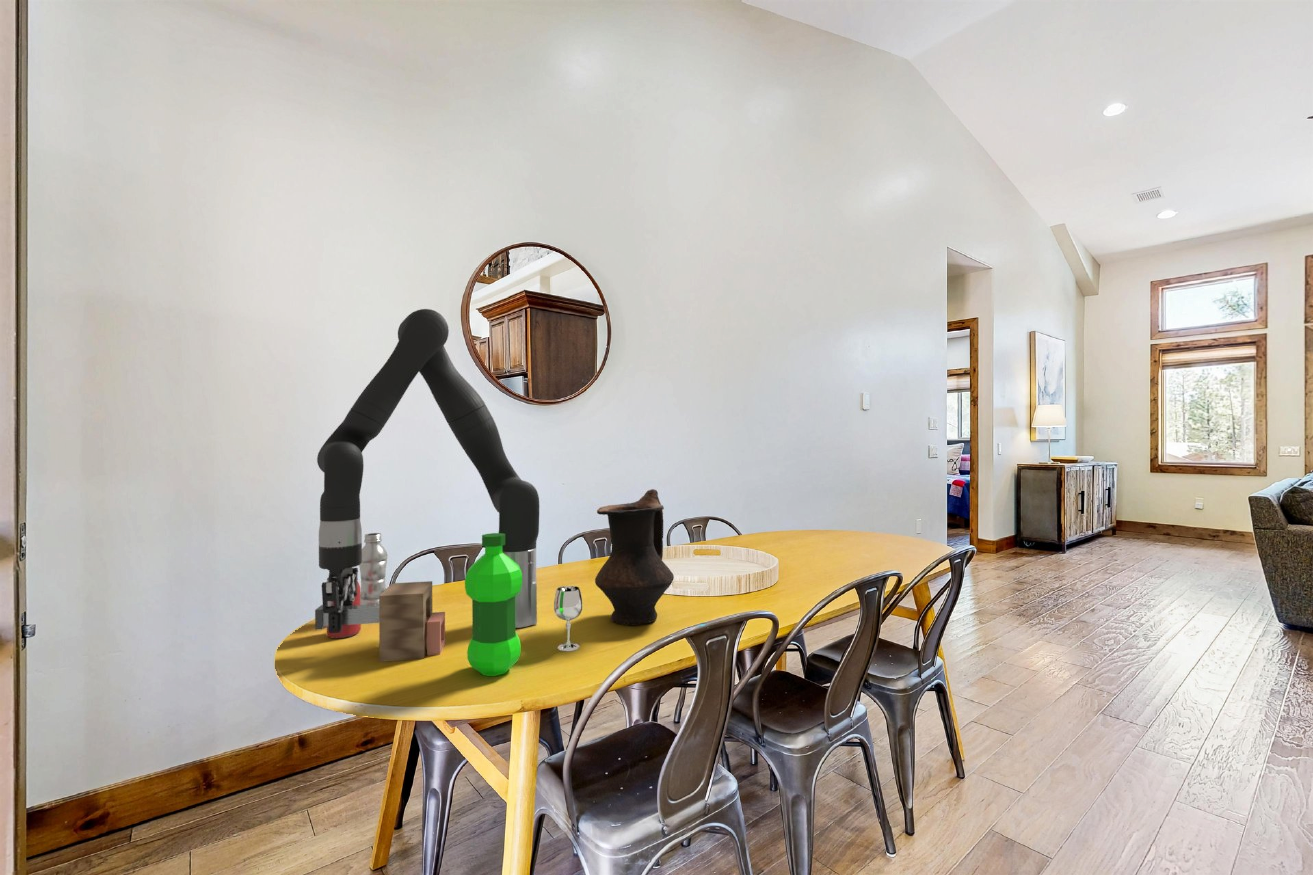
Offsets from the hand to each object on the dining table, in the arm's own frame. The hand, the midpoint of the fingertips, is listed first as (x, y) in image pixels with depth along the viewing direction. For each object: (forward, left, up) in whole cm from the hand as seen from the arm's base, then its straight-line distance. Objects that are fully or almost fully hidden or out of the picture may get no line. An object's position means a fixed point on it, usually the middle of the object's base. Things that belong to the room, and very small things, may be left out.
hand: (341, 626), depth 116 cm
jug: (-61, -11, -6) cm, 63 cm away
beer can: (+4, -14, -6) cm, 16 cm away
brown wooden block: (-12, 0, -6) cm, 14 cm away
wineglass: (-44, +5, -6) cm, 45 cm away
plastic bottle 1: (+1, -26, -6) cm, 27 cm away
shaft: (-5, 0, 0) cm, 5 cm away
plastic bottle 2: (-30, +14, -6) cm, 34 cm away
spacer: (-18, 0, -6) cm, 19 cm away
